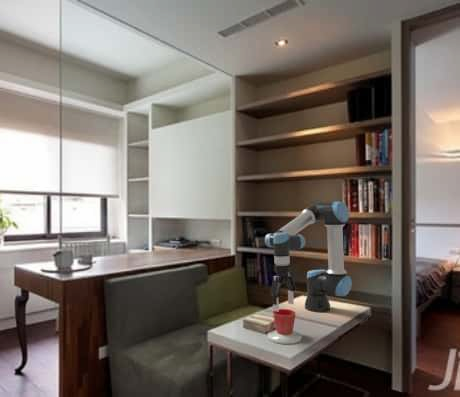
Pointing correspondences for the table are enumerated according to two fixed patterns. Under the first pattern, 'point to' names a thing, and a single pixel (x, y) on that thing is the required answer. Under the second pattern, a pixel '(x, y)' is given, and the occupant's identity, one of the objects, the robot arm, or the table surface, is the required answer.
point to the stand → (260, 323)
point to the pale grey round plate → (284, 337)
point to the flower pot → (284, 321)
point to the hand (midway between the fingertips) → (283, 307)
